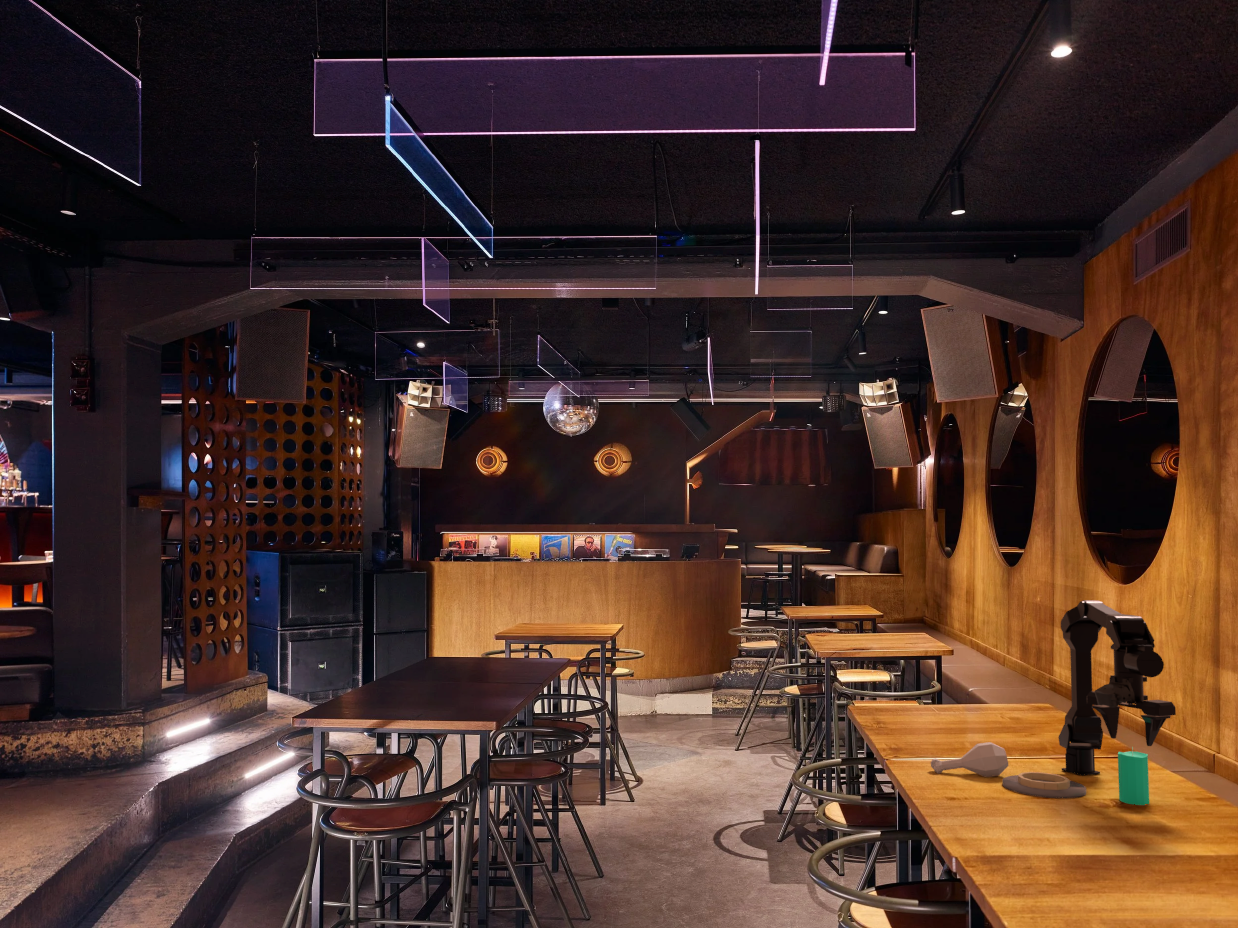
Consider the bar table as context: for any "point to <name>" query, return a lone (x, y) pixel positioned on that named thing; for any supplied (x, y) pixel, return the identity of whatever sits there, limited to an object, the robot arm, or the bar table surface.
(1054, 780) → the candle holder
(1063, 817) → the bar table surface
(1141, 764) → the candle
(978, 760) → the chicken leg
